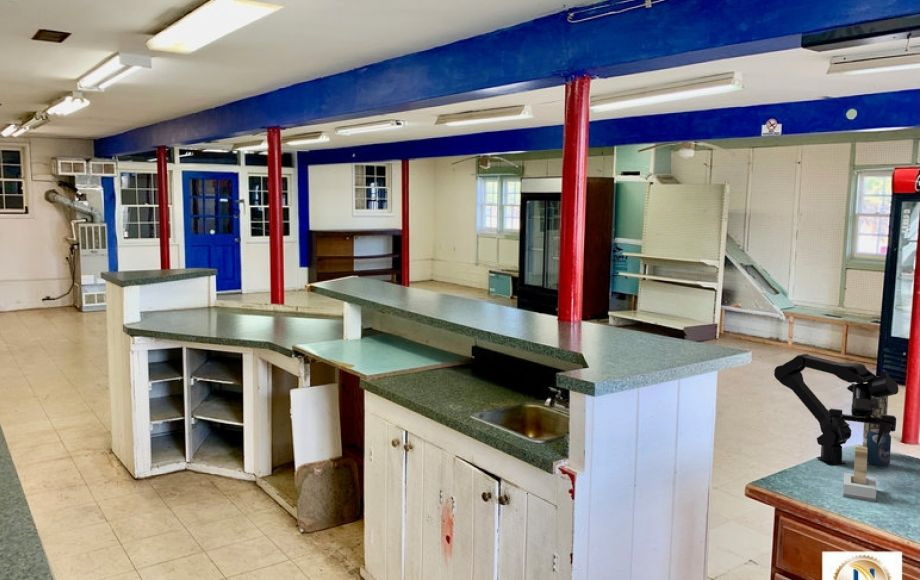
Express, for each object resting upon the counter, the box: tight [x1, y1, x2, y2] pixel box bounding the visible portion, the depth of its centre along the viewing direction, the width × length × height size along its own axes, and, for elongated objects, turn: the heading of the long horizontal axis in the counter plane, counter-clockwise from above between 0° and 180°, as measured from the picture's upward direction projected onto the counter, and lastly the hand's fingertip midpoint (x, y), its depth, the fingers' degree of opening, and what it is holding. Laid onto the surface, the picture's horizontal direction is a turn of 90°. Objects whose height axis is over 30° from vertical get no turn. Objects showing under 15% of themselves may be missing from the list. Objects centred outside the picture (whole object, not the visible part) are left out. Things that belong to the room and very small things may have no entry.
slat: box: [853, 445, 868, 485], centre depth 213 cm, size 4×3×13 cm
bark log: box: [862, 396, 889, 448], centre depth 244 cm, size 7×7×25 cm
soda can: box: [867, 428, 892, 469], centre depth 235 cm, size 7×7×12 cm
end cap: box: [842, 472, 877, 503], centre depth 213 cm, size 10×8×4 cm
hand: (860, 443), depth 219 cm, fingers open, 9 cm apart
